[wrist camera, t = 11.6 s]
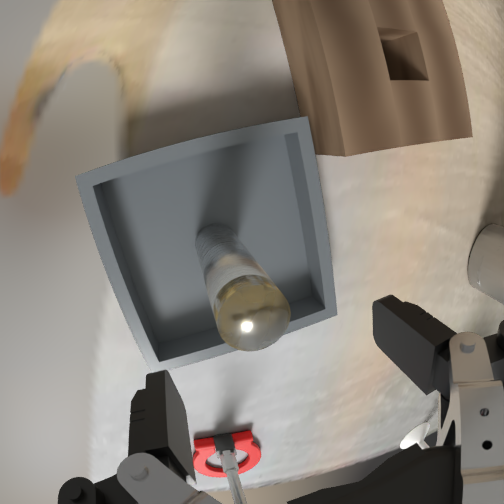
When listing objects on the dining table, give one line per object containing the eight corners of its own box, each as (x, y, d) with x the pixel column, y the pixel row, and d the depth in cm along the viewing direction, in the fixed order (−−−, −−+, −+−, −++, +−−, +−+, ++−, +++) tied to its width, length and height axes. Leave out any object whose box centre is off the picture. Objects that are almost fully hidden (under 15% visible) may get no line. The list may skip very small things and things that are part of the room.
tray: (289, 119, 24) (307, 116, 21) (320, 297, 30) (337, 314, 26) (87, 172, 21) (74, 176, 18) (152, 350, 27) (151, 374, 24)
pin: (231, 218, 24) (283, 275, 13) (240, 257, 25) (295, 337, 14) (190, 229, 24) (208, 298, 13) (201, 268, 25) (228, 359, 14)
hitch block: (399, 6, 23) (438, -9, 17) (428, 134, 27) (472, 136, 22) (271, -2, 20) (298, -34, 15) (308, 153, 25) (345, 156, 20)
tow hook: (259, 463, 36) (257, 425, 33) (289, 541, 25) (294, 518, 21) (197, 474, 35) (184, 437, 31) (216, 556, 23) (202, 536, 20)
